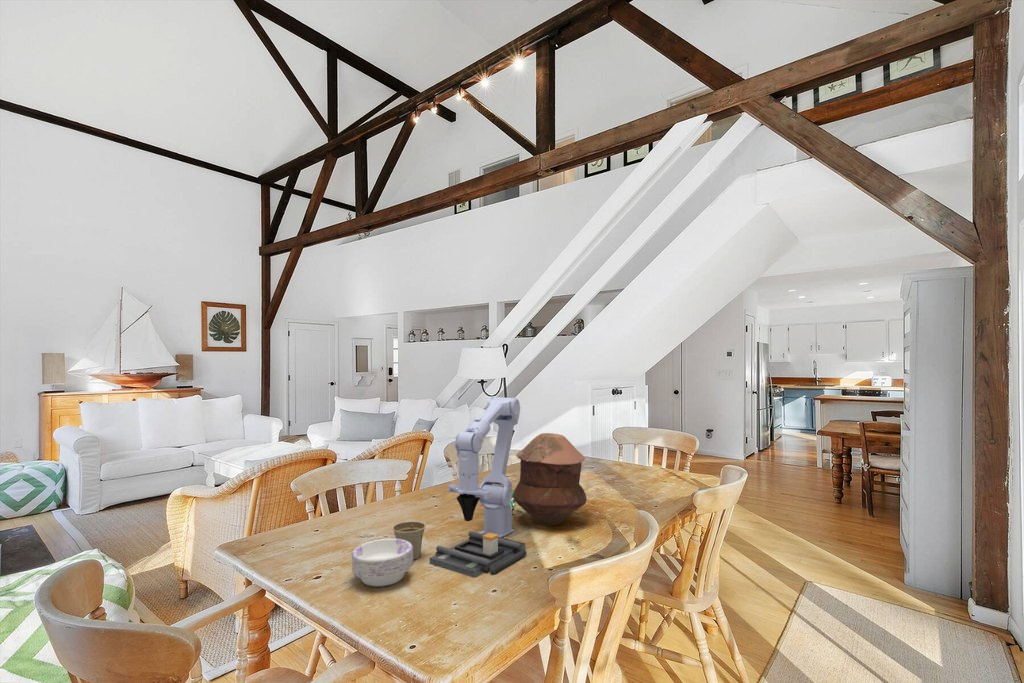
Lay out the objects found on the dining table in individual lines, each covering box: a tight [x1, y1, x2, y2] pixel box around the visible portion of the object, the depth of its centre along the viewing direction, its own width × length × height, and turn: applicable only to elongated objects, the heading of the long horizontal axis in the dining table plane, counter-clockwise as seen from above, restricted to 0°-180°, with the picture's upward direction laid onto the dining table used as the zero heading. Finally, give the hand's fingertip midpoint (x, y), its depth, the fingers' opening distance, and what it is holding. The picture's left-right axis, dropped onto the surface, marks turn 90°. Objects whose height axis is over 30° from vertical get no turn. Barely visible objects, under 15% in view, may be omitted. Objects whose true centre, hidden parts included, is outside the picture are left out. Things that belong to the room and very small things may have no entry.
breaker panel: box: [429, 533, 527, 578], centre depth 145 cm, size 24×16×2 cm, turn 145°
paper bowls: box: [351, 538, 414, 588], centre depth 130 cm, size 15×15×8 cm
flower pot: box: [391, 520, 427, 560], centre depth 145 cm, size 9×9×9 cm
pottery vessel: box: [512, 432, 588, 527], centre depth 176 cm, size 26×26×30 cm
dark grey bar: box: [467, 531, 521, 554], centre depth 152 cm, size 2×19×3 cm, turn 55°
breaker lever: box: [483, 532, 498, 555], centre depth 143 cm, size 3×3×5 cm
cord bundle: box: [434, 545, 527, 575], centre depth 144 cm, size 16×21×3 cm
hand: (468, 520), depth 148 cm, fingers closed
